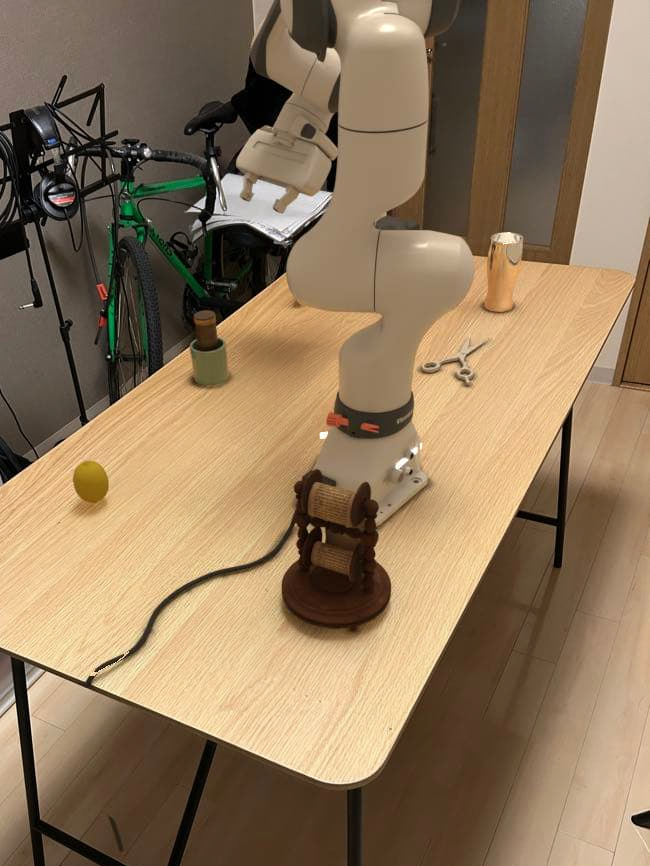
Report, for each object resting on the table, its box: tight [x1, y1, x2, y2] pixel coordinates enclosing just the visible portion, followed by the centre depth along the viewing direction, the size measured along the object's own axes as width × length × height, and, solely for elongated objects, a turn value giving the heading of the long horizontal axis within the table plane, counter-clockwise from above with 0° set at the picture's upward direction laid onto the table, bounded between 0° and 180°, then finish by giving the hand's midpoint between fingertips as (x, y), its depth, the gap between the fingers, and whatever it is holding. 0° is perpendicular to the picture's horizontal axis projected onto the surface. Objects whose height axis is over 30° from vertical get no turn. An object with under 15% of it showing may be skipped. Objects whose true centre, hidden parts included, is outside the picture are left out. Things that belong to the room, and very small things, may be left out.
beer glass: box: [483, 231, 524, 313], centre depth 175 cm, size 7×7×15 cm
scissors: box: [421, 333, 491, 386], centre depth 162 cm, size 11×1×20 cm
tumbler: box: [189, 336, 230, 386], centre depth 161 cm, size 7×7×8 cm
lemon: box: [72, 460, 110, 504], centre depth 132 cm, size 6×6×8 cm
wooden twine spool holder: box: [281, 469, 392, 633], centre depth 106 cm, size 15×15×20 cm
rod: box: [193, 310, 219, 352], centre depth 159 cm, size 4×4×13 cm
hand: (260, 205), depth 150 cm, fingers open, 8 cm apart
